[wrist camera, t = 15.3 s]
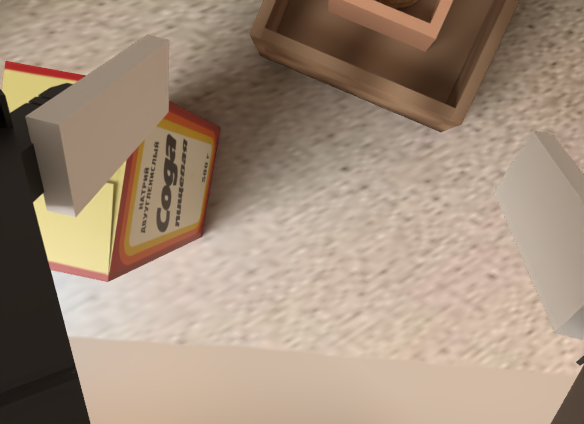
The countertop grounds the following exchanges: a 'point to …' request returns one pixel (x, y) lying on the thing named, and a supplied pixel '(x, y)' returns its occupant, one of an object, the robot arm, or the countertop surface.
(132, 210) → the baking soda box
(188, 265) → the countertop surface
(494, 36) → the walled box
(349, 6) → the inlet collar
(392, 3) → the sprinkles bottle
